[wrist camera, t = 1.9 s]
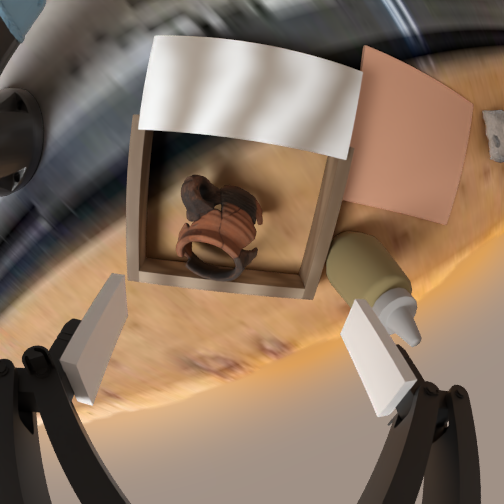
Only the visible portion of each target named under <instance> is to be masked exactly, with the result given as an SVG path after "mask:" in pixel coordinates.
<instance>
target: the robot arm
mask: <svg viewBox="0 0 504 504" xmlns="http://www.w3.org/2000/svg"><path fill="white" fill-rule="evenodd" d="M45 4H46V0H0V75H1V74H2V72H3V70H4V68H5V67H6V65H7V63H8V61H9V60H10V58H11V57H12V55H13V54H14V52H15V50H16V49H17V47H18V46H19V44H20V43H21V44H22V42H23V41H24V39H25V35H26V34H27V32H28V31H29V29H30V28H31V26H32V25H33V23H34V22H35V20H36V19H37V17H38V16H39V15H40V13H41V12H42V10H43V9H44V7H45ZM42 145H43V120H42V115H41V111H40V108H39V105H38V103H37V101H36V100H35V98H34V97H33V96H32V95H31V94H30V93H29V92H28V91H26V90H24V89H20V88H5V89H1V90H0V197H3V196H7V195H9V194H12V193H14V192H16V191H18V190H20V189H21V188H22V187H24V186H25V185H26V184H27V183H28V181H29V180H30V179H31V177H32V176H33V174H34V172H35V170H36V168H37V165H38V163H39V159H40V156H41V151H42ZM127 316H128V310H127V300H126V288H125V275H121V274H115V273H112V274H111V275H110V277H109V278H108V280H107V281H106V283H105V284H104V286H103V287H102V289H101V290H100V292H99V294H98V295H97V297H96V298H95V300H94V301H93V303H92V305H91V306H90V308H89V309H88V311H87V313H86V314H85V316H84V318H83V319H82V320H78V319H71V320H70V321H69V322H67V323H66V324H65V325H64V327H63V328H62V330H61V333H59V335H58V336H57V339H56V340H55V341H54V343H53V345H52V346H51V348H50V350H49V351H48V349H46V348H45V347H43V346H32V347H30V348H28V349H27V350H26V351H25V352H24V354H23V356H22V362H23V364H24V366H25V368H15V366H14V365H13V363H12V361H10V360H8V359H0V504H52V503H51V500H50V496H49V493H48V488H47V484H46V479H45V475H44V469H43V464H42V458H41V452H40V445H39V437H38V429H37V417H36V412H40V415H41V418H42V420H43V423H44V426H45V429H46V431H47V434H48V436H49V439H50V441H51V444H52V446H53V448H54V451H55V453H56V455H57V458H58V460H59V462H60V464H61V466H62V468H63V470H64V472H65V474H66V476H67V478H68V480H69V482H70V484H71V486H72V488H73V489H74V491H75V493H76V495H77V497H78V498H79V500H80V502H81V503H82V504H131V503H130V502H129V501H128V499H127V498H126V496H125V495H124V494H123V492H122V491H121V489H120V488H119V486H118V485H117V483H116V482H115V480H114V479H113V478H112V476H111V474H110V473H109V471H108V470H107V468H106V466H105V465H104V463H103V461H102V460H101V458H100V456H99V455H98V453H97V451H96V449H95V448H94V446H93V444H92V442H91V440H90V438H89V436H88V434H87V433H86V430H85V429H84V427H83V424H82V422H81V420H80V418H79V416H78V414H77V412H76V410H75V407H74V405H73V403H72V398H73V396H74V395H75V397H76V399H77V401H78V402H82V403H85V404H89V405H92V406H93V404H94V401H95V398H96V395H97V392H98V389H99V386H100V384H101V381H102V378H103V375H104V373H105V370H106V368H107V365H108V362H109V360H110V357H111V355H112V352H113V350H114V347H115V345H116V342H117V340H118V337H119V335H120V333H121V330H122V328H123V326H124V323H125V321H126V319H127ZM340 335H341V337H342V339H343V341H344V343H345V345H346V347H347V349H348V351H349V354H350V356H351V358H352V360H353V362H354V364H355V367H356V369H357V371H358V373H359V376H360V378H361V380H362V382H363V384H364V387H365V389H366V391H367V393H368V396H369V398H370V400H371V402H372V405H373V407H374V409H375V412H376V414H377V417H381V416H386V415H390V414H391V413H392V411H393V410H394V409H395V408H396V409H397V412H398V413H397V414H396V415H395V416H394V418H393V419H392V420H391V421H390V422H389V423H388V425H390V424H391V423H392V426H391V429H390V431H389V434H388V437H387V440H386V442H385V445H384V447H383V450H382V452H381V455H380V457H379V459H378V462H377V464H376V466H375V468H374V471H373V473H372V475H371V477H370V479H369V481H368V483H367V485H366V488H365V490H364V492H363V493H362V495H361V497H360V499H359V501H358V503H357V504H415V501H416V498H417V495H418V493H419V490H420V486H421V483H422V480H423V477H424V488H423V499H422V504H481V485H480V467H479V456H478V447H477V439H476V433H475V426H474V420H473V415H472V409H471V405H470V400H469V396H468V393H467V391H466V390H465V388H463V387H462V386H459V385H454V386H452V387H451V388H450V390H449V391H441V390H439V388H438V387H437V386H436V385H435V384H433V383H431V382H428V381H426V382H425V381H424V379H423V378H422V376H421V374H420V373H419V371H418V369H417V368H416V366H415V365H414V364H413V362H412V360H411V359H410V358H409V355H408V354H407V352H406V351H405V350H404V349H403V348H402V347H401V346H400V345H396V344H395V343H394V342H393V340H392V338H391V337H390V335H389V334H388V332H387V331H386V329H385V328H384V326H383V324H382V323H381V321H380V320H379V318H378V317H377V315H376V314H375V312H374V311H373V310H372V308H371V307H370V305H369V304H368V302H367V301H366V299H355V300H354V303H353V305H352V308H351V310H350V313H349V315H348V317H347V320H346V322H345V324H344V327H343V329H342V331H341V334H340ZM448 421H449V426H448V427H447V422H448Z"/></svg>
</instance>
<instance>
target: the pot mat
mask: <svg viewBox="0 0 504 504" xmlns="http://www.w3.org/2000/svg"><path fill="white" fill-rule="evenodd" d="M360 71H362V72H363V75H362V81H361V88H360V93H359V99H358V105H357V110H356V116H355V121H354V126H353V131H352V136H351V141H350V146H349V147H352V148H354V153H353V157H352V162H351V166H350V171H349V175H348V179H347V183H346V187H345V191H344V195H343V199H342V200H344V201H349V202H354V203H359V204H363V205H368V206H372V207H377V208H381V209H385V210H389V211H394V212H398V213H402V214H406V215H410V216H414V217H418V218H421V219H425V220H429V221H433V222H436V223H440V224H443V225H447V222H448V219H449V216H450V213H451V210H452V206H453V203H454V200H455V196H456V192H457V189H458V185H459V181H460V177H461V173H462V169H463V164H464V160H465V155H466V150H467V145H468V139H469V133H470V127H471V120H472V113H473V104H472V103H471V102H469V101H468V100H466V99H465V98H464V97H462V96H461V95H459V94H458V93H456V92H455V91H453V90H452V89H450V88H448V87H447V86H445V85H444V84H442V83H440V82H439V81H437V80H435V79H434V78H432V77H430V76H428V75H427V74H425V73H423V72H421V71H419V70H418V69H416V68H414V67H412V66H410V65H408V64H406V63H404V62H402V61H400V60H398V59H396V58H394V57H391V56H389V55H387V54H385V53H383V52H380V51H378V50H376V49H373V48H371V47H368V46H366V45H365V46H363V52H362V59H361V66H360Z"/></svg>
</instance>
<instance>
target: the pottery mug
mask: <svg viewBox="0 0 504 504" xmlns="http://www.w3.org/2000/svg"><path fill="white" fill-rule="evenodd" d="M181 197H182V201H183V203H184V205H185V207H186V209H187V219H188V220H189V221H191V222H192V221H194V222H193V223H192V225H191V226H189V224H188V223H185V224H184V226H183V227H182V229H181V231H180V233H179V238H178V242H177V245H176V252H177V255H178V256H179V257H183V256H184V255H185V256H186V257H187V258H188V261H187V263H186V268H188V269H189V270H190V271H192V272H193V273H195V274H197V275H199V276H201V277H203V278H206V279H211V280H214V281H222V282H225V281H232V280H235V279H236V278H238V277H239V276H240V275H241V273H242V272H243V270H244V269H245V267H246V266H247V265H249V264H250V263H251V261H252V260H253V259H254V258H255V257H256V255H257V251H258V249H257V248H254V249H253V250H252V251H251V250H249V251H248V250H243V248H244V247H246V246H247V245H248V244H250V243H251V242H252V241H253V240H254V239H255V236H256V229H255V227H254V224H255V222H256V219H257V222H258V225H261V224H262V222H263V218H262V209H261V206H260V204H259V203H258V201H257V200H256V199H255V197H254V196H252V195H251V194H250V193H249V192H247V191H245V190H244V189H242V188H239V187H236V186H229V185H225V186H224V187H223V188H221V189H218V188H217V187H215V186H214V185H212V184H211V183H210V181H209V180H208V179H207V178H206V177H204V176H200V175H192V176H189V177H187V178H186V179H185V181H184V183H183V185H182V188H181ZM218 204H221V206H222V207H221V211H219V210H218V209H214V207H215V206H216V205H218ZM193 241H199V242H205V243H209V244H212V245H215V246H217V247H219V248H222V250H224V251H225V252H226V253H228V254H229V255H230V256H231V258H233V259H234V262H235V265H236V267H235V268H232V269H231V268H219V267H217V266H213V265H210V264H207V263H205V262H203V261H202V260H201V259H199V258H198V257H197V256H196V255H195V254H194V253H193V252H192V242H193Z"/></svg>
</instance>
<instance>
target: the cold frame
mask: <svg viewBox="0 0 504 504" xmlns="http://www.w3.org/2000/svg"><path fill="white" fill-rule="evenodd" d="M362 75H363V72H362V71H359V70H356V69H353V68H351V67H348V66H345V65H342V64H339V63H336V62H333V61H329V60H326V59H323V58H319V57H316V56H312V55H308V54H304V53H300V52H296V51H292V50H288V49H283V48H279V47H274V46H269V45H263V44H258V43H252V42H245V41H238V40H230V39H221V38H211V37H197V36H169V35H159V36H155V37H154V41H153V45H152V49H151V54H150V59H149V64H148V69H147V74H146V79H145V85H144V91H143V97H142V104H141V111H140V115H133V119H132V128H131V137H130V147H129V159H128V174H127V196H126V253H127V275H128V280H129V281H136V282H143V283H151V284H158V285H166V286H174V287H182V288H190V289H199V290H208V291H217V292H227V293H237V294H247V295H258V296H269V297H281V298H294V299H308V300H313V298H314V295H315V292H316V289H317V286H318V283H319V280H320V277H321V273H322V270H323V267H324V264H325V260H326V257H327V254H328V250H329V247H330V243H331V240H332V236H333V233H334V229H335V226H336V222H337V218H338V215H339V211H340V207H341V203H342V199H343V195H344V191H345V187H346V183H347V179H348V175H349V171H350V166H351V162H352V157H353V153H354V148H352V147H349V146H350V141H351V136H352V131H353V126H354V121H355V116H356V110H357V105H358V99H359V93H360V88H361V81H362ZM154 130H159V131H174V132H186V133H196V134H206V135H214V136H223V137H230V138H237V139H244V140H251V141H257V142H263V143H269V144H275V145H280V146H285V147H290V148H295V149H300V150H305V151H310V152H314V153H319V154H323V155H327V156H328V157H327V162H326V167H325V171H324V176H323V180H322V185H321V189H320V193H319V197H318V202H317V206H316V210H315V214H314V218H313V222H312V226H311V230H310V234H309V238H308V242H307V246H306V250H305V253H304V257H303V261H302V265H301V268H300V272H299V275H296V274H286V273H276V272H267V271H257V270H248V269H244V270H243V272H242V273H241V275H240V276H239V277H238V278H236V279H235V280H232V281H225V282H222V281H214V280H211V279H206V278H203V277H201V276H199V275H197V274H195V273H193V272H192V271H190V270H189V269H188V268H186V262H177V261H169V260H161V259H153V258H146V224H147V200H148V183H149V170H150V159H151V149H152V139H153V131H154ZM217 267H219V268H229V267H220V266H217ZM231 269H232V268H231Z"/></svg>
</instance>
